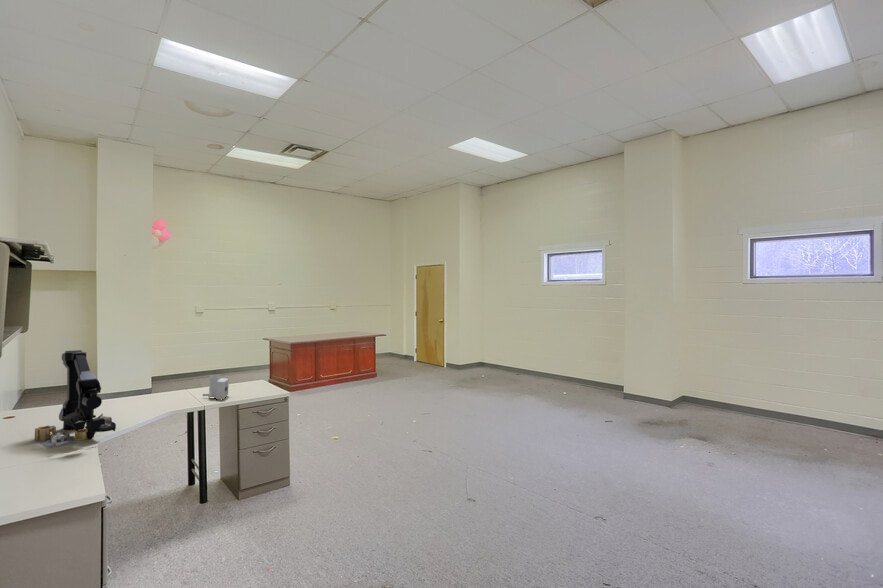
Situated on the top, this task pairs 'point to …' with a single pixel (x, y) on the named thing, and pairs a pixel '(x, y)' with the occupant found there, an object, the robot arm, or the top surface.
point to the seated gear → (44, 433)
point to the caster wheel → (107, 424)
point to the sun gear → (61, 436)
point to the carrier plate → (48, 443)
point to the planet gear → (81, 434)
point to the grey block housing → (218, 387)
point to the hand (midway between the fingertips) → (84, 438)
